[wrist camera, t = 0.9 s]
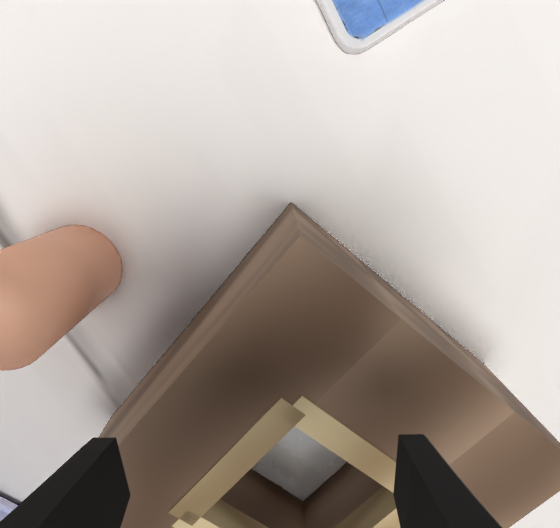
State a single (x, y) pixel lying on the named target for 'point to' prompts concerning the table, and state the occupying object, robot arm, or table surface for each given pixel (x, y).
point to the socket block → (318, 400)
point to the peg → (51, 289)
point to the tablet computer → (369, 20)
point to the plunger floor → (299, 464)
